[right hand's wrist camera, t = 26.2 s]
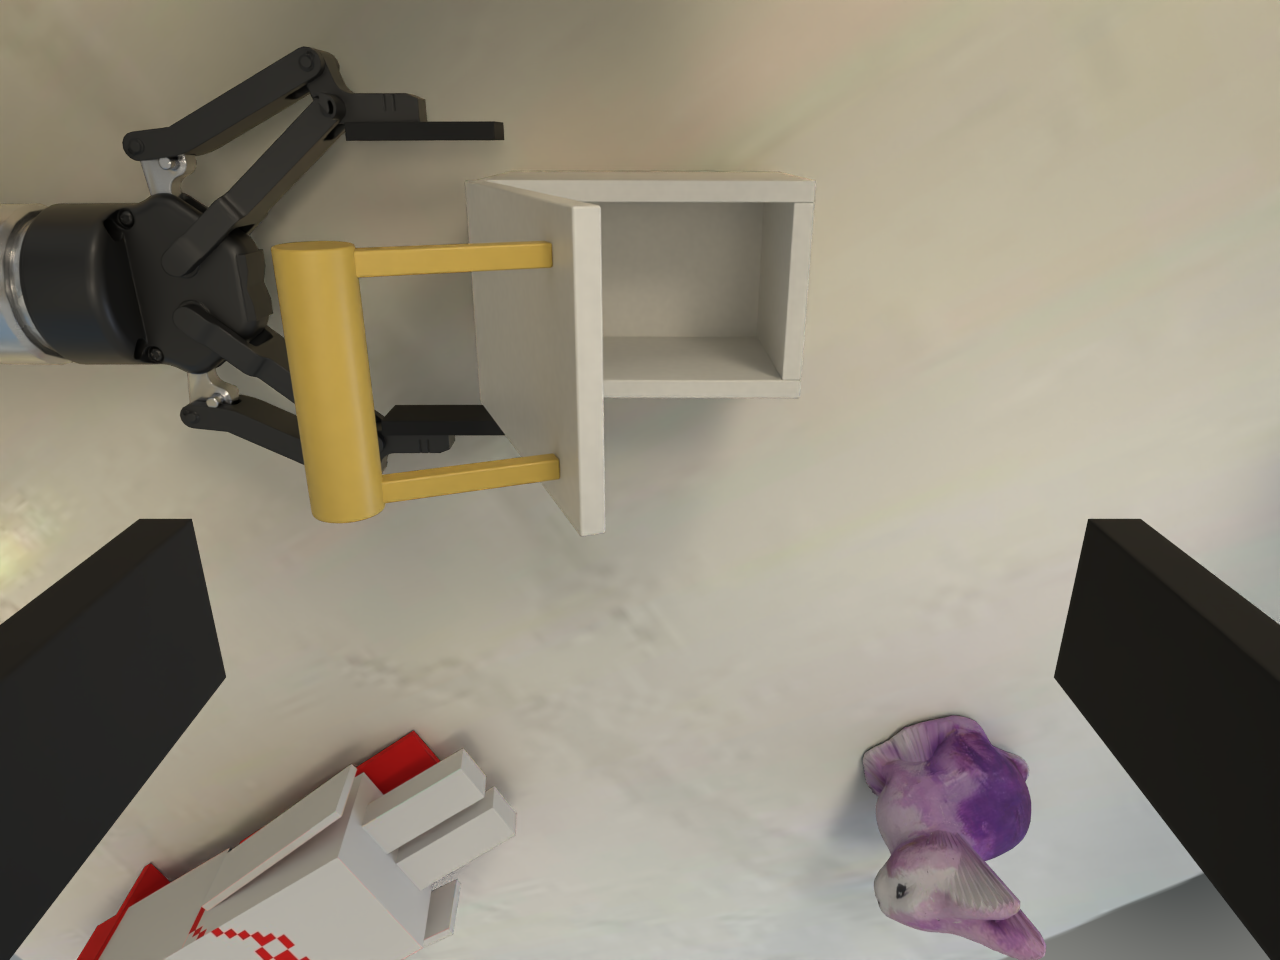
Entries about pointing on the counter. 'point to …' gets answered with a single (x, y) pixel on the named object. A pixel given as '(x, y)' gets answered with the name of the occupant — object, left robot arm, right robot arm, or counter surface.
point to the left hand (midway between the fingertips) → (509, 284)
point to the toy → (326, 871)
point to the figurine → (951, 833)
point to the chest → (697, 278)
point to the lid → (506, 354)
